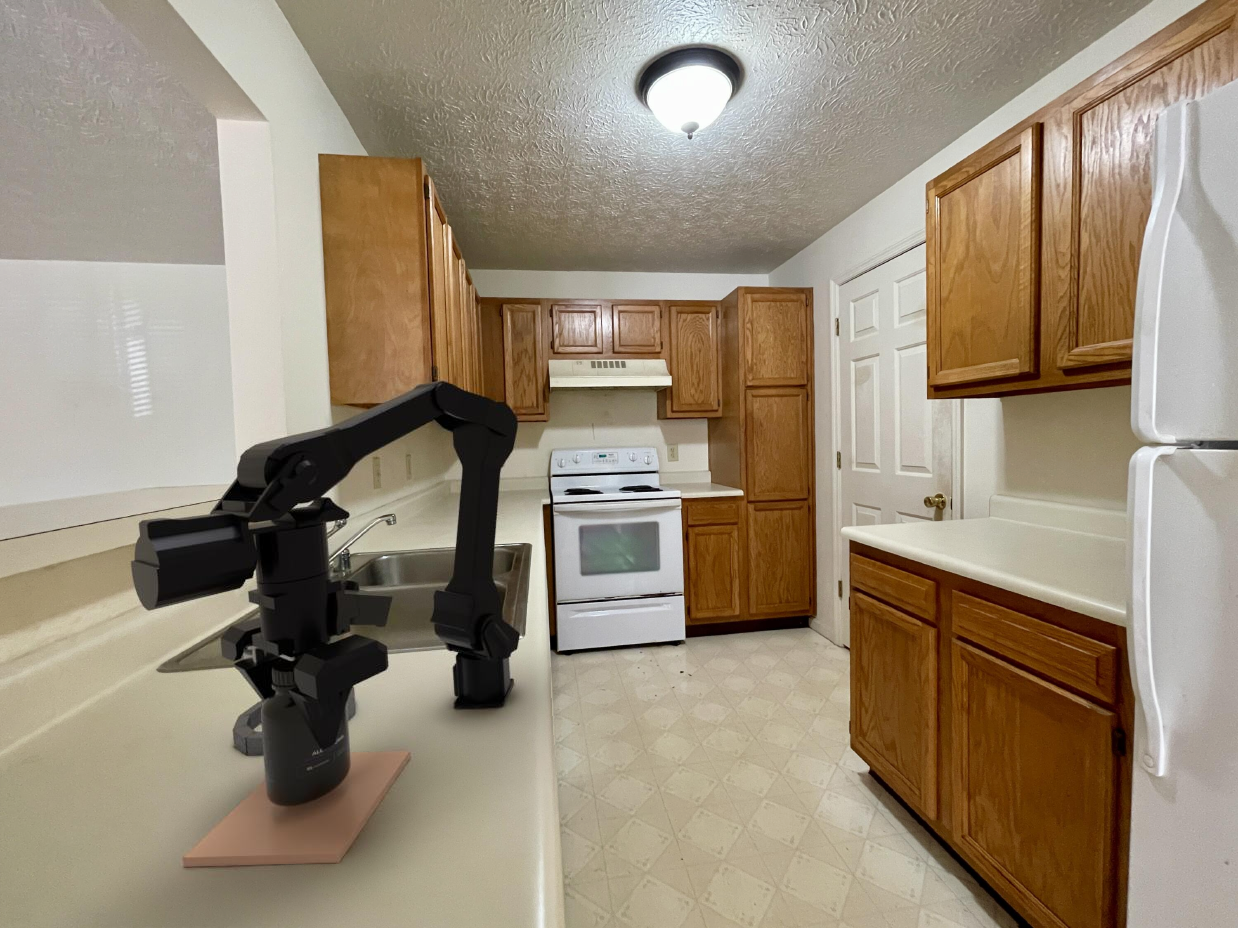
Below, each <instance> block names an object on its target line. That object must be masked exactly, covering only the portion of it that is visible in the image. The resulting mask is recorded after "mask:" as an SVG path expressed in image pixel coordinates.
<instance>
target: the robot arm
mask: <svg viewBox="0 0 1238 928" xmlns="http://www.w3.org/2000/svg"><path fill="white" fill-rule="evenodd" d="M431 422H433V424H435V425H436V426H437V427H438V428H440V429H441V430H444V431H446V432H448V433H451V434H452V443H453V444H452V445H453V449H454V451H455V454H456V456H457V457H458V460H459V461H460V465H461V467H462V468H461V470H462V471H461V481H460V482H461V483H460V484H461V485H460V491H459V493H460V494H459V504H458V505H459V506H458V517H457V527H456V528H457V529H456V541H455V551H454V562H453V563H454V565H453V574H452V577H451V579H450V580H449V581H448V584H447V585H446V587H445V588H444V589H443V590H441V589H436V590H435V591H434V594H433V611H432V615H431V617H430V620H429V622H430V623H432V624H434V625H433V627H434V628H433V629H434V630H433V631H434V633H435V635H436V636H437V637H438V638H439V639H440V641H441V642H443V643H444V645H445V648H446V651H449V652H454V653H456V655H455V663H454V665H453V666H452V677H453V678H452V679H453V683H452V684H453V695H454V696H455V697H456V698H455V700H454V702H453V708H454V709H463V708H465V709H469V708H471V709H472V708H473V709H474V708H491V707H492V708H498V707H499V708H500V707H502V706H504V705H505V703H506V701H507V699H508V696H509V694H510V692H511V690H512V688H513V685H514V684H515V679H514V678H511V671H510V670H511V667H510V657H511V656H512V655H511V654H512V653H513V652H516V651H517V650H518V648H519V642H520V636H521V633H520V632H519V631H518V630H517V629H516V628H514V627H513V626H512V625H510V624H509V623H508V622H506V621H505V619H504V611H503V600H502V596H501V594H500V592H499V590H498V587H497V585H496V582H495V580H494V578H493V571H494V557H495V546H496V533H497V522H498V521H497V519H498V506H499V505H498V504H499V496H500V495H499V494H500V484H501V483H500V479H501V473H502V472H501V471H502V469H503V466H504V465H505V463H506V462H507V460H508V459H509V457H510V455H511V454H512V453H513V451H514V448H515V443H516V437H517V434H518V427H519V424H518V423H519V422H518V417H517V414H515V413H514V411H513V409H512V408H511V407H510V406H509V405H508V403H506V402H504V401H495V400H493V399H491V398H490V397H486V396H483V395H481V394H478V393H473V392H471V391H467V390H464V389H462V388H460V387H458V386H457V385H455V384H454V383H450V382H448V381H445V380H438V381H433V382H425V383H420V384H418V385H415V387H414V388H413V389H411V390H408V391H406V392H404V393H402V394H400V395H397V396H396V397H393V398H392V399H389V400H386V401H384V402H382V403H380V404H378V405H376V406H375V405H374V406H373V407H371V408H368V409H366V410H364V411H362V412H360V413H358V414H355V415H353V416H352V417H349V418H347V419H344V420H341V421H340V422H338V423H335V424H334V425H331V426H327V427H323V428H320V429H316V430H311V431H307V432H301V433H298V434H296V433H295V434H291V435H288V436H284V437H279V438H275V439H271V440H268V441H262V442H258V443H257V444H253V445H252V446H250V447H249V448H247V449H246V450H244V451H243V453H241V455H240V456H239V458H240V459H239V461H238V463H237V466H236V478H235V479H234V480H233V482H232V483H231V484H230V485H229V487H228V488H227V490H226V491H225V492H224V494H223V495H222V496H221V498H220V499H219V500H218V502H217V503H216V504H215V505H214V506H213V508H212V510H210V513H208V514H201V515H200V514H199V515H193V516H186V517H179V518H168V517H158V518H150V519H142V520H140V521H139V523H138V530H139V537H138V538H137V541H136V543H135V546H134V560H131V561H130V568H131V575H132V580H133V581H132V582H133V585H134V590H135V593H136V595H137V598H138V599H139V602H140V604H141V606H142V607H143V608H144V609H145V610H146V611H155V610H159V609H162V608H166V607H169V606H174V605H179V604H182V603H185V602H186V603H187V602H190V601H194V600H198V599H203V598H206V597H210V596H214V595H219V594H223V593H226V592H231V591H235V590H240V589H241V588H242V587H243V586H244V584H245V583H246V581H247V580H251V579H253V578H254V575H255V580H256V588H255V589H251V590H248V591H247V593H248V594H247V595H248V603H251V604H255V605H257V606H258V613H259V617H255V618H253V619H248V620H246V621H242V622H239V623H237V624H236V623H235V624H232V625H230V626H229V627H228V628H227V630H226V631H225V632H224V633H223V635H222V636H220V647H221V656H222V657H223V658H225V659H228V661H232V662H234V664H233V665H234V666H233V667H234V669H236V670H237V671H238V672H239V673H240V674H241V675H242V677H243V679H245V681H246V682H247V683H248V684H249V685H250V687H251V689H252V690H253V691H254V692H255V693H256V694H257V695H258V697H259V698H260V701H261V700H262V701H263V702H265V700H266V699H267V697H268V696H269V695H270V694H271V693H272V692H274V691H275V690H273V689H272V684H271V682H272V667H273V666H274V664H276V663H277V662H278V661H280V660H282V659H284V658H285V659H287V660H290V661H293V660H296V659H299V660H300V661H299V662H298V663H297V665H296V666H295V668H294V674H295V682H296V684H297V687H295V688H293V689H290V690H289V692H290V694H291V696H292V698H293V700H294V701H295V703H296V705H297V707H298V709H299V710H300V712H301V714H302V716H303V718H304V720H305V722H306V723H307V725H308V727H309V729H310V731H311V733H312V735H313V736H314V738H315V740H316V741H317V743H318V745H319V746H320V748H321V749H322V750H326V749H327V748H329V747H331V746H333V745H334V744H335V742H336V739H337V735H338V732H339V728H340V724H341V721H342V717H343V714H344V710H345V706H346V703H347V700H348V697H349V695H350V692H351V690H352V688H353V687H355V686H356V685H358V684H360V683H362V682H365V681H367V680H369V679H370V678H373V677H375V676H377V675H379V674H381V673H384V672H385V671H387V670H388V668H389V653H388V645H385V644H384V643H382V642H380V641H379V640H377V639H373V638H370V637H367V636H363V635H360V634H357V633H354V634H352V635H349V636H346V637H344V638H341V639H339V640H336V641H333V642H331V641H332V640H331V639H332V638H331V637H334V636H338V637H339V636H342V635H345V634H349V633H350V632H351V626H375V628H385V627H387V622H388V619H389V614H390V609H391V605H392V601H393V597H394V596H393V595H390V594H385V593H380V592H376V591H372V590H370V591H369V590H365V589H360V585H359V582H358V581H357V580H353V579H346V578H333V577H332V576H331V575H332V574H331V565H330V553H329V540H328V530H327V529H328V527H327V523H332V522H337V521H343V520H347V519H349V518H350V516H351V514H350V512H349V511H348V510H345V509H344V508H343V507H340V506H339V505H337V504H336V503H335V502H334V501H333V500H332V498H331V497H329V496H328V497H327V496H324V495H325V494H326V493H328V492H330V491H331V490H332V489H333V488H335V486H337V485H338V484H339V483H341V482H342V481H343V480H345V478H347V477H348V475H349V474H350V473H351V471H352V470H353V469H354V467H355V466H356V465H357V464H358V463H359V462H361V461H362V460H363V459H364V458H366V457H367V456H369V455H370V454H372V453H374V452H376V451H378V450H380V449H382V448H384V447H386V446H387V445H389V444H392V443H393V442H395V441H397V440H399V439H401V438H403V437H405V436H407V435H408V434H410V433H412V432H414V431H416V430H418V429H419V428H421V427H423V426H425V425H427V424H428V423H431ZM309 503H310V504H309ZM301 504H308V505H307V506H301V507H296V506H298V505H301ZM250 523H254V524H250ZM242 657H243V659H242Z"/></svg>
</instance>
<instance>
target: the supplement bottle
mask: <svg viewBox="0 0 1238 928" xmlns="http://www.w3.org/2000/svg"><path fill="white" fill-rule="evenodd" d="M299 661H300V660H299V659H296V660H293V661H290V660H287V659H285V658H284V659H282V660H280V661H278V662H277V663H276V664H274V666H273V667H272V682H271V684H272V689H273V690H275V691H274V692H272V693H271V694H270V695H269V696H268V697H267V699H266V700H265V702H264V703H263V706H262V708H261V723H260V724H261V731H262V738H263V753H264V755H263V763H264V766H263V767H264V781H266V792H267V797H268V799H269V800H270V801H271V802H272V803H273V804H275V805H278V806H284V807H290V806H298V805H302V804H306V803H309V802H311V801H314V800H316V799H319V798H321V797H323V796H325V795H326V794H328V793H330V792H331V791H332V790H334V789H335V788H336V787H338V786H339V785H340V784H341V783H342V782H343V780H344V779H345V778H346V776H347V775H348V773H349V770H350V765H351V760H350V753H351V746H350V745H351V744H350V728H349V720H348V709H347V703H346V706H345V710H344V714H343V717H342V721H341V724H340V728H339V732H338V735H337V739H336V742H335V744H334V745H333V746H331V747H329V748H327V749H326V750H322V749H321V748H320V746H319V745H318V743H317V741H316V740H315V738H314V736H313V735H312V733H311V731H310V729H309V727H308V725H307V723H306V722H305V720H304V718H303V716H302V714H301V712H300V710H299V709H298V707H297V705H296V703H295V701H294V700H293V698H292V696H291V694H290V692H289V690H290V689H293V688H295V687H297V684H296V682H295V674H294V668H295V666H296V665H297V663H298V662H299Z"/></svg>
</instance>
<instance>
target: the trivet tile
mask: <svg viewBox="0 0 1238 928" xmlns="http://www.w3.org/2000/svg"><path fill="white" fill-rule="evenodd" d="M410 759H411V751H410V750H393V751H392V750H390V751H385V750H384V751H359V752H358V751H357V752H356V751H354V752H350V760H351V765H350V770H349V773H348V775H347V776H346V778H345V779H344V780H343V782H342V783H341V784H340V785H339V786H338V787H336V788H335V789H334V790H332V791H331V792H330V793H328V794H326V795H325V796H323V797H321V798H319V799H316V800H314V801H311V802H309V803H306V804H302V805H298V806H290V807H284V806H278V805H275V804H273V803H272V802H271V801H270V800H269V799H268V797H267V792H266V781H265V780H263V782H261V783H260V784H259V785H258V786H257V787H256V788H255V789H254V790H253V791H252V792H251V793H250V794H249V795H248V796H246V797H245V798H244V799H243V800H242V801H241V802H240V803H239V804H238V805H237V806H236V807H235V808H234V809H233V810H232V811H231V812H229V813H228V815H226V816H225V817H224V818H223V819H222V820H220V822H218V823H217V824H216V825H215V826H214V827H213V829H211V830H210V831H209V832H208V833H206V835H205V836H204V837H203V838H202V839H201V840H200V841H199V842H198V843H197V844H196V845H195V846H193V847H192V848H191V849H190V850H189V851H188V852H187V853H186V854H185V855H184V856H182V863H183V867H185V868H187V867H191V868H192V867H220V866H221V867H225V866H226V867H227V866H229V867H230V866H262V865H297V864H299V865H301V864H303V865H304V864H331V863H332V864H333V863H337V864H338V863H340V862H341V860H342V859H343V858H344V856H345V855H346V853H347V852H348V850H349V848H350V847H352V844H353V843H354V841H355V840H356V838H357V837H358V835H359V834H360V833H361V831H362V830H363V828H364V827H365V825H366V824H367V823H368V821H369V820H370V819H371V816H372V815H373V813H374V812H375V811H376V810H377V808H378V807H379V804H380V803H381V801H382V800H383V799H384V797H385V796H386V794H387V793H388V791H389V790H390V789H391V787H392V786H393V784H394V783H395V781H396V779H397V778H398V777H399V776H400V774H401V773H402V771H403V770H404V768H405V767H406V765H407V764H408V762H409V761H410Z"/></svg>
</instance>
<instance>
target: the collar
mask: <svg viewBox="0 0 1238 928" xmlns="http://www.w3.org/2000/svg"><path fill="white" fill-rule="evenodd" d="M355 691H356V690H355V686H353V688H352V690H351V692H350V695H349V697H348V700H347V709H348V721H350V720H351V719H352V717H353V716H354V715H355V714H356V696H355V695H356V694H355ZM263 703H264V702H263V701H262V700H261V699H260V701H258V702H256V703H255V704H254V705H252V706H251V707H249V708H248V709H247V710H244V712H242V713H240V714H239V716H237V719H236V720H235V723H234V726H233V728H232V739H233V747H234V748H235V749H236V750H237V751H239V752H241V753H242V754H244V755H245V756H264V753H263V738H262V730H261V731H256V730H255V728H256V727H258V726H259V725H260V724H261V708H262V706H263Z"/></svg>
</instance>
